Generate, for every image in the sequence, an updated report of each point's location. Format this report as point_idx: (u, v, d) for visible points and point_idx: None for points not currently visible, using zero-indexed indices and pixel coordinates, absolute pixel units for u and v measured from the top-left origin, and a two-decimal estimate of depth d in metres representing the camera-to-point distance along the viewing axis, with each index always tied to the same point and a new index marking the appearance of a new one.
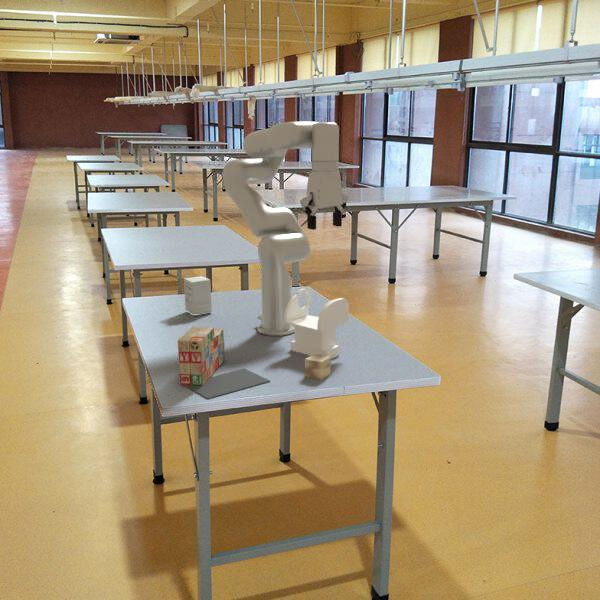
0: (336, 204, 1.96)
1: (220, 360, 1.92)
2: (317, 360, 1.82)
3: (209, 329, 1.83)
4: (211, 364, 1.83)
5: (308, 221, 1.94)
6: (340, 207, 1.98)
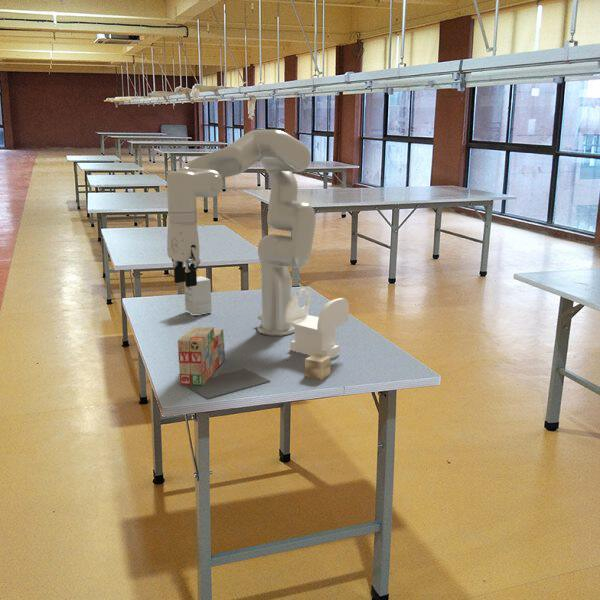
0: None
1: (220, 360, 1.92)
2: (317, 360, 1.82)
3: (209, 329, 1.83)
4: (211, 364, 1.83)
5: (191, 278, 1.84)
6: None
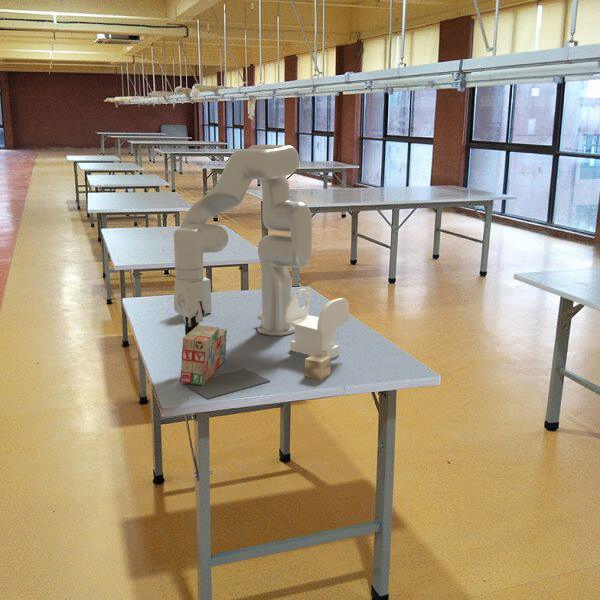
0: None
1: (221, 360, 1.92)
2: (317, 360, 1.82)
3: (214, 329, 1.83)
4: (212, 364, 1.83)
5: None
6: None
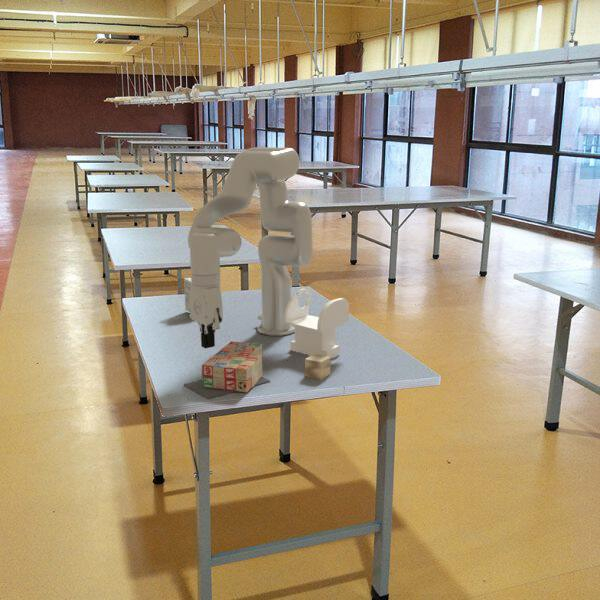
0: None
1: None
2: (317, 360, 1.82)
3: (259, 376, 1.81)
4: None
5: (209, 340, 1.81)
6: None
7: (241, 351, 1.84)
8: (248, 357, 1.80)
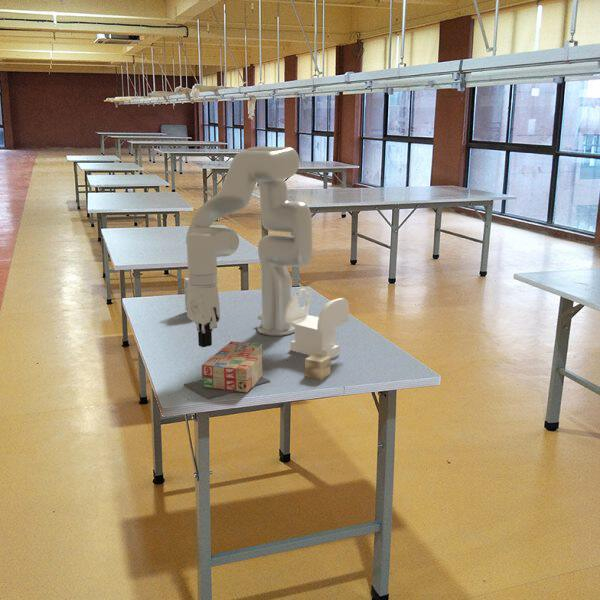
0: None
1: None
2: (317, 360, 1.82)
3: (259, 376, 1.81)
4: None
5: (207, 339, 1.82)
6: None
7: (241, 351, 1.84)
8: (248, 357, 1.80)
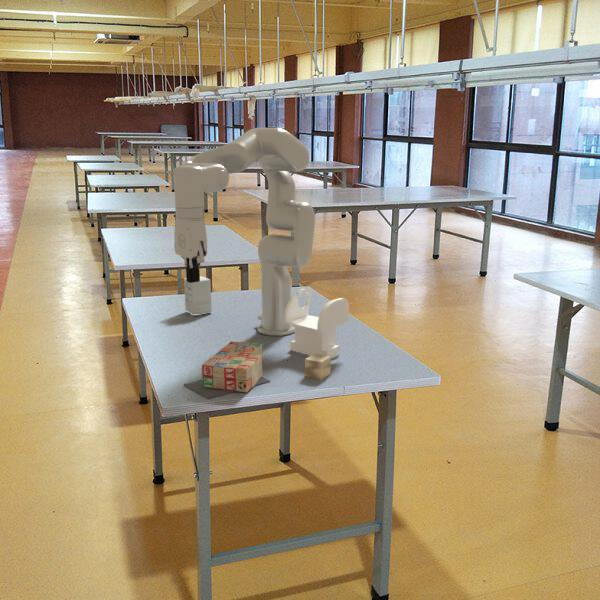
0: None
1: None
2: (317, 360, 1.82)
3: (259, 376, 1.81)
4: None
5: (194, 274, 1.82)
6: None
7: (241, 351, 1.84)
8: (248, 357, 1.80)
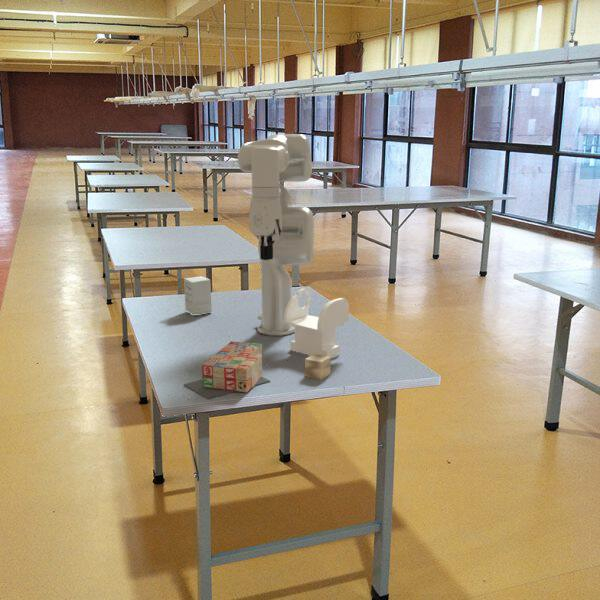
0: None
1: None
2: (317, 360, 1.82)
3: (259, 376, 1.81)
4: None
5: (268, 252, 1.90)
6: None
7: (241, 351, 1.84)
8: (248, 357, 1.80)
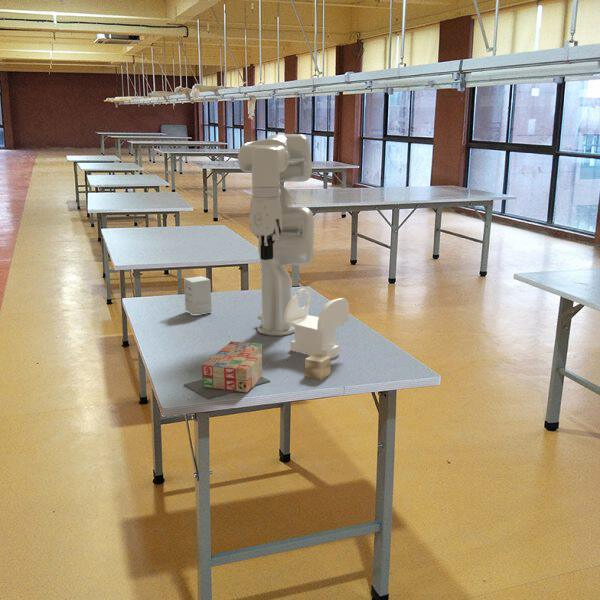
0: None
1: None
2: (317, 360, 1.82)
3: (259, 376, 1.81)
4: None
5: (269, 252, 1.90)
6: None
7: (241, 351, 1.84)
8: (248, 357, 1.80)
